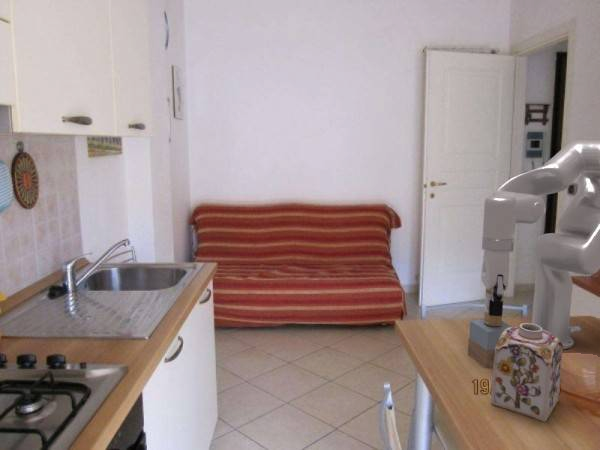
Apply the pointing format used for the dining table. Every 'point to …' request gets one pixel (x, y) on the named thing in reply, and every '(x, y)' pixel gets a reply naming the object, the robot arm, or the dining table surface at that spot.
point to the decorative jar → (527, 371)
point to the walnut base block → (481, 354)
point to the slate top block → (486, 333)
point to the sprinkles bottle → (487, 318)
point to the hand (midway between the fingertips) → (493, 311)
